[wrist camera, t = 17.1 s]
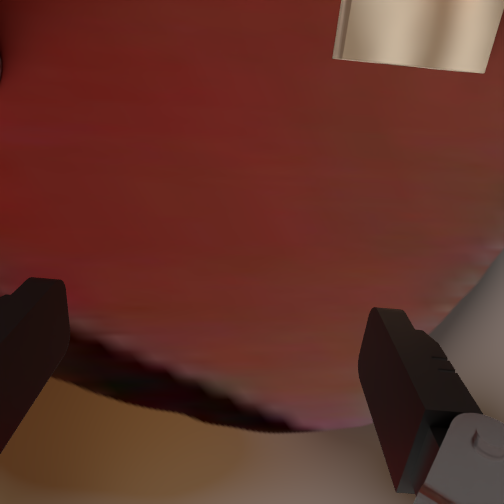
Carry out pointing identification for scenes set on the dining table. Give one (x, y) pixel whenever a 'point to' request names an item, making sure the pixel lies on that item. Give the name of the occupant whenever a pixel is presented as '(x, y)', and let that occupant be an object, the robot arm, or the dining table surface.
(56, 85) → the dining table surface
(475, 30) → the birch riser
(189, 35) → the dining table surface
